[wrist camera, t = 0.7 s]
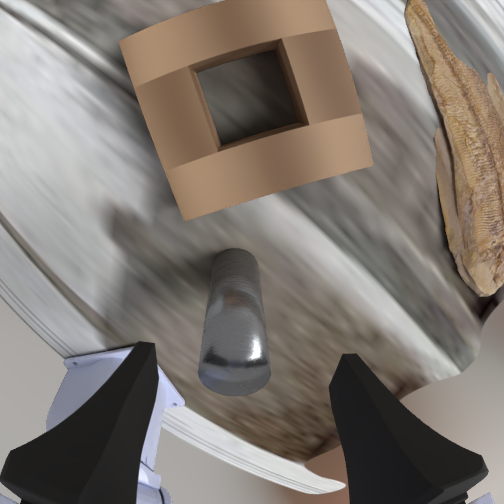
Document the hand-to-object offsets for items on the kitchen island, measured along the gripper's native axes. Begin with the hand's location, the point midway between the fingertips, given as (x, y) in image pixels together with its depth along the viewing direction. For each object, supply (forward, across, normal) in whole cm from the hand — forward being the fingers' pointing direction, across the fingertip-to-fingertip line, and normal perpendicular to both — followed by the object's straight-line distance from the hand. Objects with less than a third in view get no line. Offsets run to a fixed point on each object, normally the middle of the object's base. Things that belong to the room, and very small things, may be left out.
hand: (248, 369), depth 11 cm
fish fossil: (+10, -17, -10) cm, 22 cm away
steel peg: (+10, 0, +1) cm, 10 cm away
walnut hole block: (+10, +1, -10) cm, 14 cm away
